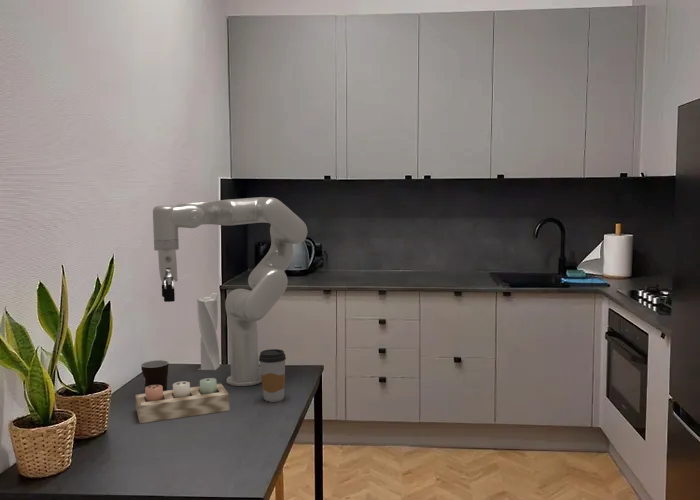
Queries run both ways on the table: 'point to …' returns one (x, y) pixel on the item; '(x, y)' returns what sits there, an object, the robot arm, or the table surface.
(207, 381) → the button sage
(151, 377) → the coffee mug
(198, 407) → the beige long block
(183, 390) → the button cream
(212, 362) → the skyscraper
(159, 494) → the table surface
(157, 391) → the pink rounded cylinder
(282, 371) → the coffee cup
